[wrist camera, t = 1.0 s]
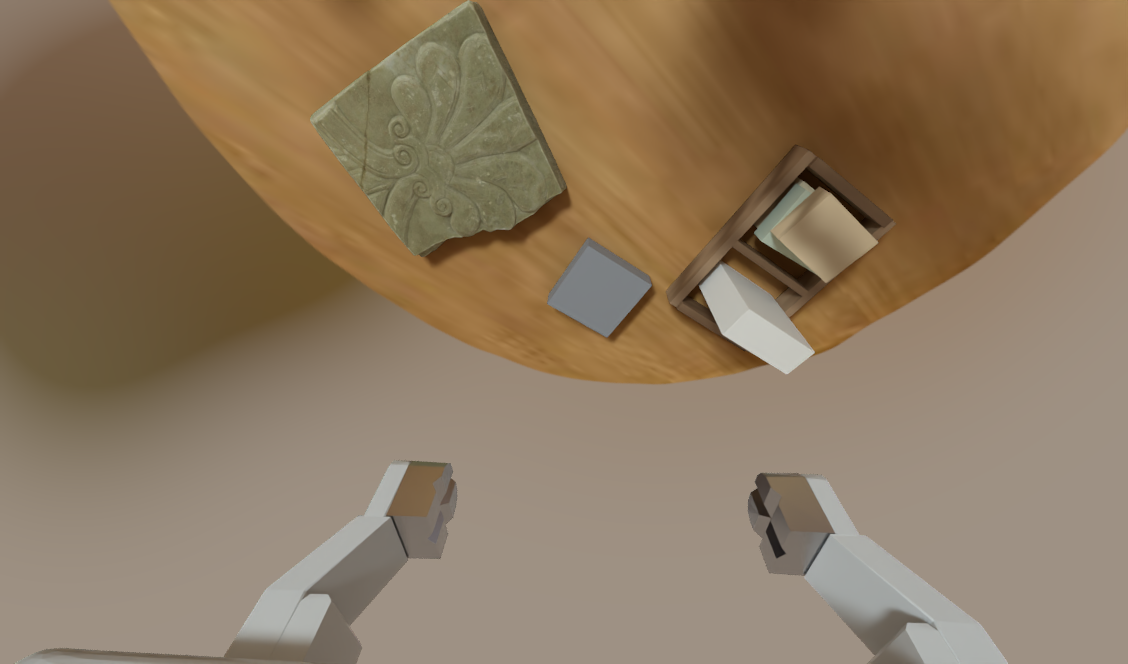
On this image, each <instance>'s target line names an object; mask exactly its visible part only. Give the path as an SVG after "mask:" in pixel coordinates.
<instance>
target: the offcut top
mask: <svg viewBox="0 0 1128 664" xmlns="http://www.w3.org/2000/svg"><path fill="white" fill-rule="evenodd" d="M770 231H771V232H772V233H773V234H774V235H775V236H776V237H777V238H778V239H779V240H780V241H781V242H782V243H783V244H784V245H785V246H786V247H787V248H788V249H789V250H790V251H792V252H793V253H794V254H795V255H796V256H797V257H798V258H799V259H800V260H801V261H802V262H804V263H805V264H806V265H807V266H808V267H809V268H810V269H811V270H812V271H813V272H814V273H815V274H817V275H818V276H819V277H820V278H821V279H822V280H823V281H824V282H825V283H827V282H828V281H830V280H831V279H832V278H834V277H835V276H836V275H837V274H839V273H840V272H841V271H843V270H844V269H845V268H847V267H848V266H849V265H850V264H852V263H853V262H854V261H856V260H857V259H858V258H860V257H861V256H862V255H864V254H865V253H866V252H867V251H869V250H870V249H871V248H873V247H874V246H875V245H877V244H878V243H879V242H878V241H877V240H876V239H875V238H874V237H873V236H872V235H871V234H870V233H869V232H868V231H867V230H866V229H865V228H864V227H863V226H862V225H861V224H860V223H859V222H858V221H857V220H856V219H855V218H854V217H853V216H852V215H851V214H850V213H849V211H848V210H847V209H846V208H845V207H844V206H843V205H842V204H841V203H840V202H839V201H838V200H837V199H836V198H835V197H834V196H833V195H832V194H831V193H829V192H828V191H826V190H824V189H823V188H821V187H818V188H817V189H816V190H815V191H814V192H813V193H812V194H810V195H809V196H808V197H807V198H806V199H805V200H804V201H803V202H802V203H800V204H799V205H798V206H797V207H796V208H795V209H794V210H793V211H792V212H791V213H789V214H788V215H787V216H786V217H785V218H784V219H783V220H782V221H781V222H779V223H778V224H777V225H776V226H775V227H774V228H773V229H772V230H770Z"/></svg>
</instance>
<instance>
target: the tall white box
mask: <svg viewBox="0 0 1128 664" xmlns="http://www.w3.org/2000/svg"><path fill="white" fill-rule="evenodd" d="M698 285H699V287H700V289H701V291H702V293H703V295H704V298H705V300H706V302H707V304H708V306H709V308H710V310H711V312H712V314H713V316H714V319H715V321H716V323H717V325H718V327H719V329H720V331H721V333H722V335H724V336H725V337H727V338H728V339H730V340H732V341H733V342H735V343H737V344H738V345H740V346H741V347H743V348H745V349H746V350H748V351H749V352H751V353H753V354H754V355H756V356H757V357H759V358H761V359H762V360H764V361H765V362H767V363H769V364H770V365H772V366H773V367H775V368H777V369H778V370H780V371H782V372H783V373H785V374H786V375H787V374H789V373H790V372H791V371H792V370H793V369H795V368H796V367H797V366H799V365H800V364H801V363H802V362H804V361H805V360H806V359H808V358H809V357H810V356H811V355H813V354H814V353H815V352H814V350H813V349H812V348H811V346H810V345H809V344H808V343H807V341H806V340H805V339H804V337H803V336H802V335H801V333H800V332H799V331H798V329H797V328H796V327H795V326H794V324H793V323H792V322H791V320H790V319H789V318H788V316H787V315H786V314H785V312H784V311H783V310H782V309H781V307H780V306H779V305H778V303H777V302H776V301H775V299H774V298H773V297H772V295H771V294H769V293H768V292H766V291H765V290H763V289H762V288H761V287H759V286H758V285H756V284H755V283H753V282H752V281H750V280H749V279H747V278H746V277H745V276H743V275H742V274H740V273H739V272H737V271H736V270H734V269H733V268H731V267H730V266H728V265H727V264H726V263H724V262H723V261H721V260H720V261H719V262H718V263H717V264H716V265H715V266H714V267H713V268H712V269H711V270H710V271H709V272H708V273H707V275H706V276H705V277H704V278H703V279H702V280H701V281H700V282H699V283H698Z"/></svg>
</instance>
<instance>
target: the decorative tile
mask: <svg viewBox="0 0 1128 664" xmlns="http://www.w3.org/2000/svg"><path fill="white" fill-rule="evenodd" d="M310 121H311V123H312V125H313V126H314V127H315V129H316V130H317V132H318V133H319V135H320V136H321V137H322V139H323V140H324V141H325V143H326V144H327V145H328V147H329V148H330V149H331V151H332V152H333V153H334V155H335V156H336V157H337V159H338V160H339V161H340V163H341V164H342V165H343V167H344V168H345V169H346V170H347V172H348V173H349V174H350V175H351V177H352V178H353V179H354V180H355V182H356V183H357V184H358V186H359V187H360V188H361V189H362V191H363V192H364V193H365V194H366V196H367V197H368V198H369V200H370V201H371V202H372V204H373V205H374V206H375V208H376V209H377V210H378V212H379V213H380V214H381V216H382V217H383V218H384V220H385V221H386V222H387V224H388V225H389V226H390V228H391V229H392V230H393V231H394V233H395V234H396V235H397V236H398V237H399V239H400V240H401V241H402V242H403V243H404V244H405V245H406V247H407V248H408V249H409V250H410V251H411V253H412V254H413V255H414V256H415V255H420V256H421V257H425V256H427V255H428V254H430V253H431V252H433V251H435V250H436V249H437V248H438V247H439V246H440V245H441V244H442V243H443V242H445V241H446V240H447V239H450V238H453V237H470V236H473V235H474V234H476V233H478V232H480V231H481V230H486V231H489V232H492V231H494V230H498V229H499V230H511V229H512V228H513V227H514V226H515V225H516V224H517V223H519V222H521V221H522V220H524V219H525V218H527V217H529V216H531V215H533V214H534V213H536V212H537V210H538V209H539V208H540V207H542V206H543V205H544V204H546V203H547V202H549V201H550V200H551V199H552V198H553V197H555V196H556V195H558V194H560V193H562V192H563V191H564V190H565V189H566V188H567V186H566V183H565V181H564V179H563V177H562V174H561V172H560V170H559V168H558V166H557V163H556V161H555V159H554V157H553V155H552V153H551V150H550V148H549V146H548V144H547V142H546V140H545V138H544V135H543V133H542V131H541V129H540V127H539V125H538V123H537V120H536V118H535V116H534V114H533V112H532V110H531V108H530V106H529V104H528V102H527V100H526V98H525V96H524V94H523V92H522V90H521V88H520V86H519V84H518V81H517V79H516V77H515V75H514V73H513V71H512V69H511V67H510V65H509V63H508V61H507V59H506V57H505V55H504V53H503V51H502V49H501V47H500V45H499V43H498V41H497V38H496V36H495V34H494V32H493V30H492V28H491V26H490V24H489V22H488V20H487V18H486V16H485V14H484V12H483V10H482V8H481V6H480V5H479V4H478V3H477V2H472V1H469V0H468V1H466V2H464V3H463V4H461V5H460V6H458V7H457V8H455V9H454V10H453V11H451V12H450V13H448V14H447V15H445V16H444V17H443V18H441V19H440V20H438V21H437V22H436V23H434V24H433V25H431V26H430V27H429V28H427V29H426V30H424V31H423V32H421V33H420V34H419V35H417V36H416V37H414V38H413V39H411V40H410V41H408V42H407V43H406V44H404V45H403V46H402V47H400V48H399V49H398V50H396V51H395V52H394V53H392V54H391V55H390V56H388V57H387V58H385V59H384V60H383V61H382V62H380V63H379V64H378V65H377V66H375V67H373V68H372V69H371V70H370V71H367V72H365V73H364V74H363V75H362V76H360V77H359V78H358V79H357V80H355V81H354V82H353V83H351V84H350V85H349V86H347V87H346V88H345V89H344V90H342V91H341V92H340V93H339V94H337V95H336V96H335V97H334V98H332V99H331V100H330V101H328V102H327V103H326V104H325V105H323V106H322V107H321V108H320V109H318V110H317V111H316V112H315V113H314V114H312V116H311V118H310Z"/></svg>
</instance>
